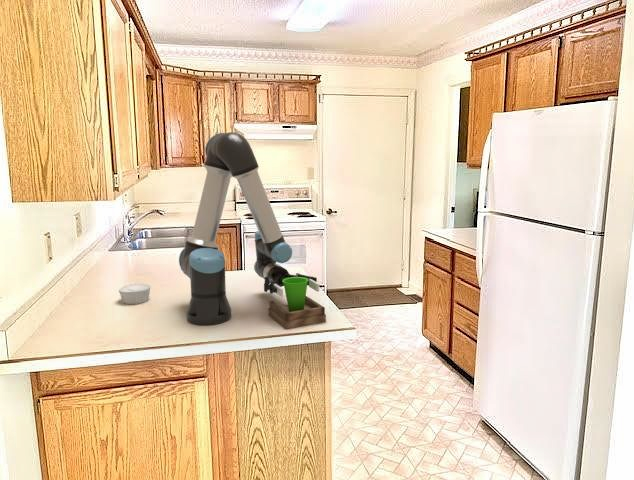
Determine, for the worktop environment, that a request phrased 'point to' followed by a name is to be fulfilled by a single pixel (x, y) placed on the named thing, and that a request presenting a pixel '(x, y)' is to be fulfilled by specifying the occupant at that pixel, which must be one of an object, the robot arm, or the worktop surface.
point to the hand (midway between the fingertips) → (300, 290)
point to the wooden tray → (297, 314)
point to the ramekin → (135, 293)
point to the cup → (295, 292)
